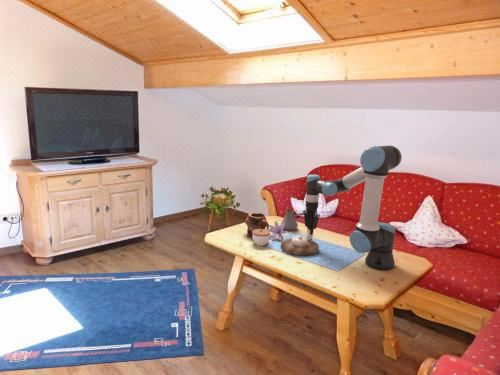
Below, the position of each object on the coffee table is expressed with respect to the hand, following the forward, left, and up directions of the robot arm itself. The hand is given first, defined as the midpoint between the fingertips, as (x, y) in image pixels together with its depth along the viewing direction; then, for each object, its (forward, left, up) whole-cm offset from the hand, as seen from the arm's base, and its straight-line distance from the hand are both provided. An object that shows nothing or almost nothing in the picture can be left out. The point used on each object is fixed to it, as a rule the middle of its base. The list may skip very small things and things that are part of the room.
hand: (309, 239), depth 234 cm
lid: (-3, +9, -1) cm, 9 cm away
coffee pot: (+29, -5, -5) cm, 29 cm away
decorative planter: (+25, +24, -5) cm, 35 cm away
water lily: (+16, +15, -5) cm, 22 cm away
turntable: (-3, +8, -4) cm, 10 cm away
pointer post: (+5, -3, -4) cm, 7 cm away
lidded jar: (+11, +27, -5) cm, 30 cm away
